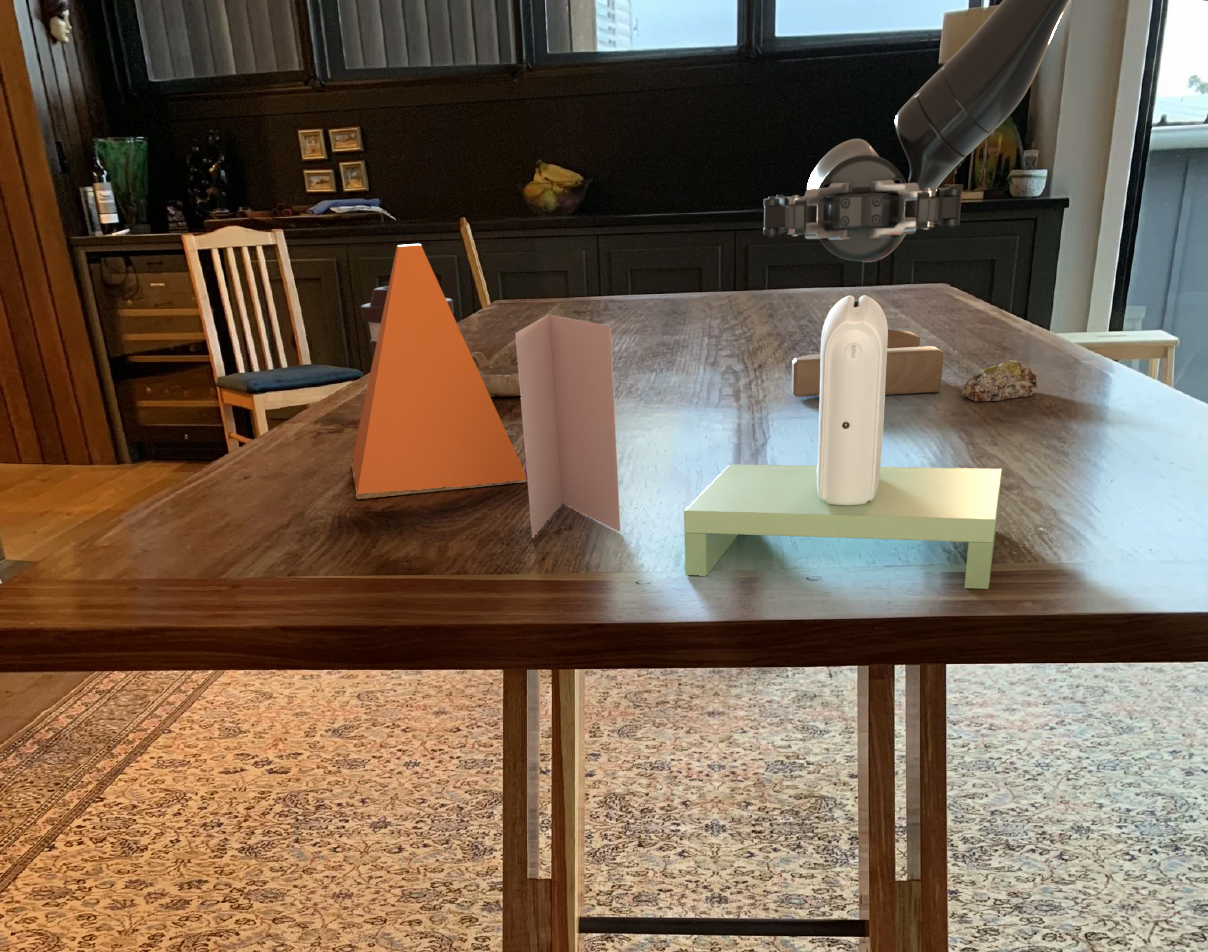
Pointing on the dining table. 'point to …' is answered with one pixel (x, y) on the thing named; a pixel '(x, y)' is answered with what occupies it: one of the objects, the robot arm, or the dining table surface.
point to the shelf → (847, 511)
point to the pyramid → (426, 396)
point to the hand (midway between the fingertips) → (860, 214)
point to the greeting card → (568, 419)
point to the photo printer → (851, 401)
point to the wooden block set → (904, 368)
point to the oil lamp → (498, 377)
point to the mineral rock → (1001, 383)
